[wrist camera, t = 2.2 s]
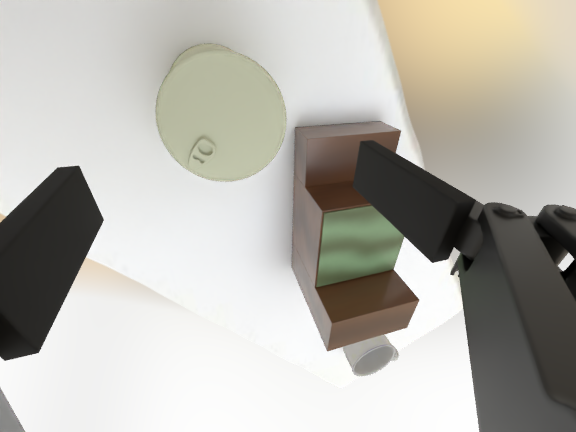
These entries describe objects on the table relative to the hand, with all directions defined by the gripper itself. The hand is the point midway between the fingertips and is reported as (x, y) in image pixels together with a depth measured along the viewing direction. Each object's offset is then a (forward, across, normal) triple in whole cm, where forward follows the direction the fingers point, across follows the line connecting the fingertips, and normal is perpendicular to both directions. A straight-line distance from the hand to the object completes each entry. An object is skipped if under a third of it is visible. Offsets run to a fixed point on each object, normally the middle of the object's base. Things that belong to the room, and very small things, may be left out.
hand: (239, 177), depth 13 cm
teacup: (+20, +28, -55) cm, 65 cm away
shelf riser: (+19, +15, -15) cm, 29 cm away
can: (+19, 0, +1) cm, 19 cm away
